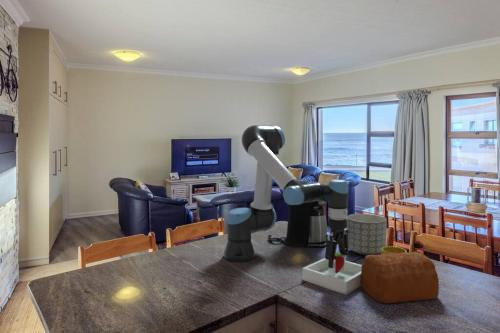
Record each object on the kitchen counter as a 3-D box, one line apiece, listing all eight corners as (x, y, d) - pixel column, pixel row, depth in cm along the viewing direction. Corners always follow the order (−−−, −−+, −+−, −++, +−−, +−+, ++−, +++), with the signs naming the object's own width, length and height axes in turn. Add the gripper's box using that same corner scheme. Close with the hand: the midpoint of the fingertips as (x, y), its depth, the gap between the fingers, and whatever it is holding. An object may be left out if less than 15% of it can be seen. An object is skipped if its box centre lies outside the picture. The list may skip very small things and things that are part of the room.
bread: (442, 299, 127) (444, 260, 126) (380, 306, 123) (382, 264, 121) (412, 280, 144) (413, 245, 142) (357, 285, 139) (358, 249, 138)
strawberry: (341, 269, 149) (341, 246, 148) (346, 276, 141) (346, 252, 140) (327, 269, 149) (327, 246, 148) (331, 277, 141) (332, 252, 140)
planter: (389, 251, 180) (390, 216, 179) (380, 262, 164) (381, 224, 163) (352, 245, 190) (352, 212, 189) (341, 255, 175) (341, 219, 173)
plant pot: (376, 267, 158) (377, 246, 157) (398, 266, 159) (399, 245, 158) (387, 276, 148) (388, 254, 147) (411, 275, 149) (411, 253, 148)
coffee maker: (335, 246, 188) (336, 184, 185) (277, 251, 181) (277, 186, 178) (318, 235, 210) (319, 179, 207) (266, 238, 203) (266, 181, 200)
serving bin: (302, 279, 145) (302, 268, 145) (329, 266, 159) (329, 256, 159) (346, 295, 131) (346, 282, 130) (370, 279, 145) (371, 267, 145)
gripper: (332, 223, 133) (331, 282, 135) (358, 215, 147) (356, 268, 149) (316, 220, 138) (315, 276, 140) (342, 212, 152) (341, 264, 154)
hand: (336, 272), depth 145 cm, fingers closed on strawberry, 7 cm apart
